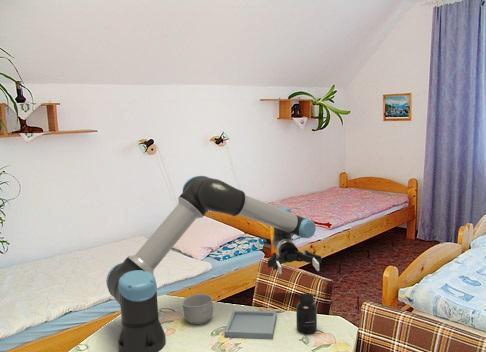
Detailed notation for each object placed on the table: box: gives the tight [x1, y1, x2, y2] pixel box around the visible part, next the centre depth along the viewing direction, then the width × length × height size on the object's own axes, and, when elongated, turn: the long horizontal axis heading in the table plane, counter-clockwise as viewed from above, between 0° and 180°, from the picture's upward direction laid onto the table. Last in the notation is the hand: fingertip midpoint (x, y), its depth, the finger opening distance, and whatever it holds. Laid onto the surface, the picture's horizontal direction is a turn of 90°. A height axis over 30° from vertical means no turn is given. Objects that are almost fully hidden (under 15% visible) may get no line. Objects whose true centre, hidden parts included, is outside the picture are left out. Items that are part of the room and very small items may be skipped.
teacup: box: [181, 291, 214, 325], centre depth 160 cm, size 14×11×8 cm
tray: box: [223, 310, 278, 340], centre depth 152 cm, size 16×16×2 cm
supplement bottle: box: [295, 293, 318, 336], centre depth 147 cm, size 7×7×12 cm
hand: (299, 269), depth 155 cm, fingers open, 13 cm apart
